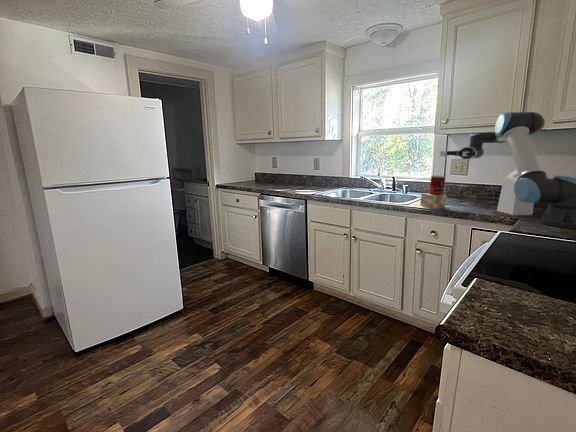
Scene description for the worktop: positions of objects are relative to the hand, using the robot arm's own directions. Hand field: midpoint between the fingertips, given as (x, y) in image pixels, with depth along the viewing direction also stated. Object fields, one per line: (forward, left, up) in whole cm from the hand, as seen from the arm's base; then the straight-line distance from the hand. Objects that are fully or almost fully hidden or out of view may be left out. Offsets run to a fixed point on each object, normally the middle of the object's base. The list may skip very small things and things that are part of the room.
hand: (451, 153), depth 193 cm
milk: (-17, +31, -32) cm, 48 cm away
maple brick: (+11, 0, -32) cm, 34 cm away
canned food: (+10, 0, -24) cm, 26 cm away
